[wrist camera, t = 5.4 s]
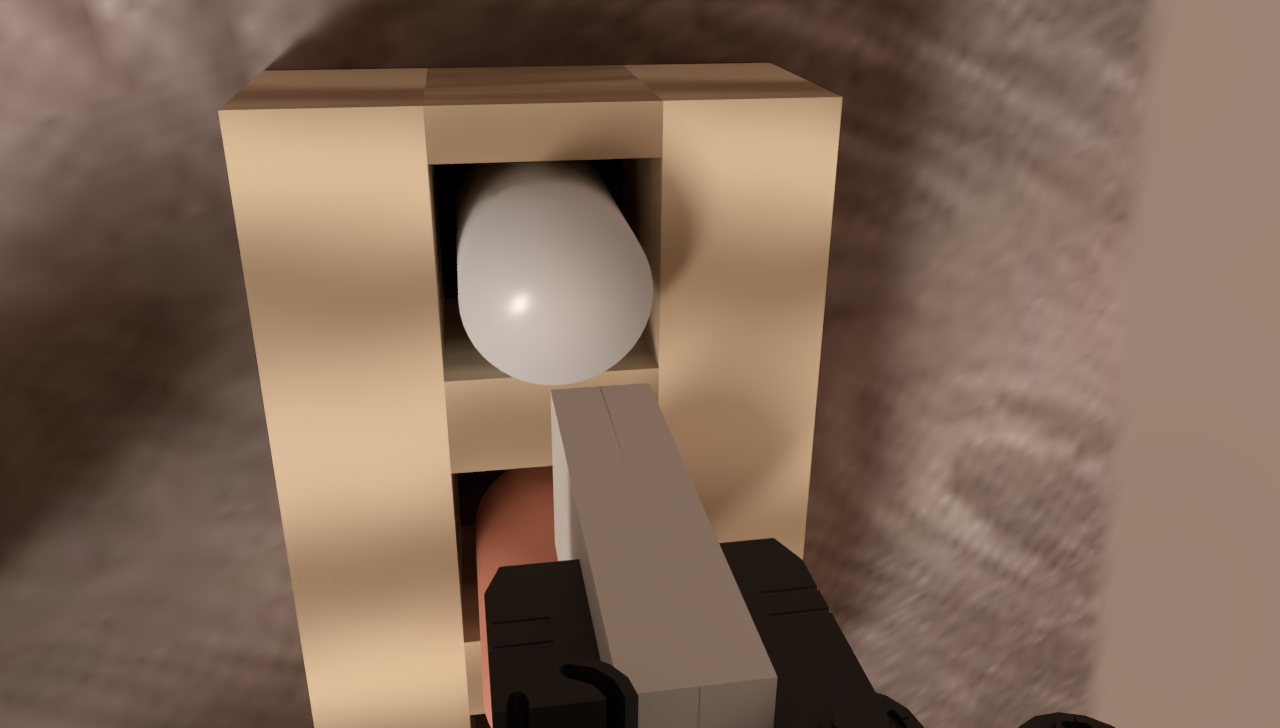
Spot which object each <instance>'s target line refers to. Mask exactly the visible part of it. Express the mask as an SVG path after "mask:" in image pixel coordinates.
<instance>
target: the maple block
mask: <svg viewBox="0 0 1280 728" xmlns="http://www.w3.org/2000/svg"><path fill="white" fill-rule="evenodd" d="M841 109H842V96H839V95H837V94H835V93H833V92H831V91H829V90H827V89H825V88H822V87H820V86H818V85H816V84H814V83H812V82H810V81H808V80H805V79H803V78H801V77H799V76H797V75H795V74H793V73H791V72H788V71H786V70H784V69H782V68H780V67H778V66H776V65H774V64H771V63H725V64H661V65H597V66H533V67H469V68H406V69H342V70H278V71H262V72H261V73H260V74H259V75H258V76H257V77H255V78H254V79H253V80H252V81H251V82H250V83H249V84H247V85H246V86H245V87H244V88H243V89H242V90H241V91H239V92H238V93H237V94H236V95H235V96H234V97H233V98H232V99H230V100H229V101H228V102H227V103H226V104H225V105H224V106H222V107H221V108H220V109H219V110H218V113H219V119H220V126H221V132H222V139H223V145H224V152H225V158H226V164H227V171H228V177H229V184H230V190H231V196H232V203H233V209H234V216H235V222H236V229H237V235H238V241H239V248H240V254H241V261H242V267H243V273H244V280H245V286H246V293H247V299H248V305H249V312H250V318H251V325H252V331H253V338H254V344H255V350H256V357H257V363H258V370H259V376H260V382H261V389H262V395H263V402H264V408H265V415H266V421H267V427H268V434H269V440H270V447H271V453H272V459H273V466H274V472H275V479H276V485H277V492H278V498H279V504H280V511H281V517H282V524H283V530H284V536H285V543H286V549H287V556H288V562H289V568H290V575H291V581H292V588H293V594H294V601H295V607H296V613H297V620H298V626H299V633H300V639H301V645H302V652H303V658H304V665H305V671H306V678H307V684H308V690H309V697H310V703H311V710H312V716H313V722H314V728H491V726H490V724H489V723H488V720H487V717H486V714H485V709H484V703H483V683H482V662H481V641H480V620H479V599H478V578H477V557H476V536H475V525H468V526H461V519H460V505H459V491H458V478H457V473H466V472H478V471H491V470H504V469H517V468H530V467H543V466H553V461H552V428H551V394H550V390H554V389H569V388H583V387H598V386H613V385H627V384H642V383H649V384H650V386H651V389H652V391H653V393H654V395H655V398H656V400H657V402H658V405H659V407H660V409H661V411H662V414H663V416H664V418H665V421H666V423H667V425H668V427H669V430H670V432H671V434H672V437H673V439H674V441H675V443H676V446H677V448H678V450H679V453H680V455H681V457H682V460H683V462H684V464H685V466H686V469H687V471H688V473H689V476H690V478H691V480H692V482H693V485H694V487H695V489H696V492H697V494H698V496H699V498H700V501H701V503H702V505H703V508H704V510H705V512H706V514H707V517H708V519H709V521H710V524H711V526H712V528H713V530H714V533H715V535H716V537H717V540H718V542H719V543H724V542H735V541H745V540H756V539H766V538H775V539H776V540H777V541H779V542H780V543H781V544H783V545H784V546H785V547H787V548H788V549H789V550H790V551H792V552H793V553H794V554H796V555H797V556H798V557H800V558H801V559H802V560H803V552H804V541H805V529H806V517H807V506H808V494H809V482H810V471H811V459H812V447H813V436H814V424H815V412H816V401H817V389H818V377H819V366H820V354H821V342H822V331H823V319H824V307H825V296H826V284H827V272H828V261H829V249H830V237H831V226H832V214H833V202H834V191H835V179H836V167H837V156H838V144H839V132H840V121H841ZM593 159H623V209H622V214H623V216H624V218H625V220H626V221H627V223H628V225H629V226H630V228H631V230H632V232H633V233H634V235H635V237H636V239H637V240H638V242H639V244H640V245H641V247H642V249H643V251H644V253H645V255H646V257H647V260H648V263H649V266H650V270H651V275H652V280H653V300H652V307H651V311H650V316H649V318H648V321H647V324H646V326H645V328H644V330H643V332H642V334H641V336H640V338H639V339H638V341H637V342H636V344H635V345H634V346H633V348H632V349H631V350H630V351H629V352H628V353H627V354H626V355H625V356H624V357H623V358H622V359H621V360H620V361H619V362H618V363H616V364H615V365H614V366H612V367H611V368H609V369H608V370H606V371H604V372H602V373H601V374H599V375H597V376H595V377H592V378H589V379H587V380H584V381H580V382H576V383H572V384H564V385H542V384H534V383H530V382H526V381H522V380H519V379H517V378H514V377H512V376H510V375H508V374H506V373H504V372H502V371H500V370H499V369H498V368H496V367H495V366H493V365H492V364H491V363H490V362H488V361H487V360H486V359H485V358H484V357H483V356H482V355H481V354H480V352H479V351H478V350H477V349H476V348H475V346H474V345H473V343H472V342H471V340H470V338H469V337H468V335H467V332H466V330H465V328H464V326H463V322H462V319H461V315H460V310H459V303H458V298H450V299H444V288H443V274H442V260H441V247H440V233H439V220H438V206H437V192H436V179H435V165H434V164H461V163H494V162H527V161H560V160H593Z"/></svg>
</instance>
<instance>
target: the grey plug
mask: <svg viewBox="0 0 1280 728" xmlns="http://www.w3.org/2000/svg"><path fill="white" fill-rule="evenodd" d="M456 244H457V275H458V303H459V310H460V315H461V319H462V322H463V326H464V328H465V330H466V332H467V335H468V337H469V338H470V340H471V342H472V343H473V345H474V346H475V348H476V349H477V350H478V351H479V352H480V354H481V355H482V356H483V357H484V358H485V359H486V360H487V361H488V362H490V363H491V364H492V365H493V366H495V367H496V368H498V369H499V370H500V371H502V372H504V373H506V374H508V375H510V376H512V377H514V378H517V379H519V380H522V381H526V382H530V383H534V384H542V385H564V384H572V383H576V382H580V381H584V380H587V379H589V378H592V377H595V376H597V375H599V374H601V373H602V372H604V371H606V370H608V369H609V368H611V367H612V366H614V365H615V364H616V363H618V362H619V361H620V360H621V359H622V358H623V357H624V356H625V355H626V354H627V353H628V352H629V351H630V350H631V349H632V348H633V346H634V345H635V344H636V342H637V341H638V339H639V338H640V336H641V334H642V332H643V330H644V328H645V326H646V324H647V321H648V318H649V316H650V311H651V307H652V300H653V280H652V275H651V270H650V266H649V263H648V260H647V257H646V255H645V253H644V251H643V249H642V247H641V245H640V244H639V242H638V240H637V239H636V237H635V235H634V233H633V232H632V230H631V228H630V226H629V225H628V223H627V221H626V220H625V218H624V216H623V214H622V213H621V211H620V209H619V208H618V206H617V204H616V202H615V201H614V199H613V197H612V195H611V194H610V192H609V190H608V189H607V187H606V185H605V183H604V182H603V180H602V178H601V177H600V175H599V173H598V172H597V170H596V169H595V167H594V166H593V165H592V164H591V163H590V161H589V160H560V161H527V162H494V163H474V164H473V165H472V166H471V168H470V169H469V170H468V172H467V174H466V175H465V177H464V179H463V181H462V183H461V186H460V188H459V192H458V195H457V201H456Z"/></svg>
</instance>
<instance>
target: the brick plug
mask: <svg viewBox="0 0 1280 728" xmlns="http://www.w3.org/2000/svg"><path fill="white" fill-rule="evenodd" d="M475 536H476V557H477V578H478V599H479V620H480V641H481V662H482V683H483V703H484V709H485V714H486V717H487V720H488V723H489V724H490V726H491V728H493V724H492V708H491V693H490V678H489V662H488V647H487V631H486V616H485V601H484V593H485V591H486V590H487V588H488V586H489V584H490V582H491V581H492V579H493V577H494V575H495V574H496V572H497V570H498V568H499V567H502V566H513V565H523V564H534V563H544V562H555V561H558V558H557V552H556V547H555V529H554V495H553V466H543V467H530V468H517V469H508V470H507V471H505V472H504V473H503V474H501V475H500V476H499V477H498V478H497V479H496V480H495V481H494V482H493V483H492V484H491V485H490V486H489V488H488V489H487V491H486V492H485V494H484V495H483V497H482V499H481V501H480V503H479V506H478V510H477V513H476V519H475Z"/></svg>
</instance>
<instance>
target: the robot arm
mask: <svg viewBox="0 0 1280 728" xmlns="http://www.w3.org/2000/svg"><path fill="white" fill-rule="evenodd" d="M550 394H551V428H552V461H553V495H554V529H555V547H556V552H557V558H558V561H555V562H544V563H534V564H523V565H513V566H502V567H499V568H498V570H497V572H496V574H495V575H494V577H493V579H492V581H491V582H490V584H489V586H488V588H487V590H486V591H485V593H484V601H485V616H486V631H487V647H488V662H489V678H490V693H491V708H492V724H493V728H924V727H923V726H922V724H921V723H920V722H919V721H918V720H917V719H916V718H915V716H914V715H913V714H912V713H911V712H910V711H909V710H908V709H907V708H906V707H904V706H902V705H901V704H899V703H897V702H896V701H894V700H893V699H891V698H889V697H888V696H886V695H882V694H879V693H876V692H875V691H874V689H873V687H872V685H871V683H870V682H869V680H868V678H867V676H866V674H865V673H864V671H863V669H862V667H861V665H860V664H859V662H858V660H857V658H856V656H855V654H854V653H853V651H852V649H851V647H850V645H849V644H848V642H847V640H846V638H845V636H844V635H843V633H842V631H841V629H840V627H839V625H838V624H837V622H836V620H835V618H834V616H833V615H832V613H829V607H828V606H827V604H826V602H825V600H824V598H823V596H822V595H821V593H820V591H817V586H816V584H815V582H814V580H813V578H812V577H811V575H810V573H809V571H808V569H807V567H806V566H805V564H804V562H803V560H802V559H801V558H800V557H798V556H797V555H796V554H794V553H793V552H792V551H790V550H789V549H788V548H787V547H785V546H784V545H783V544H781V543H780V542H779V541H777V540H776V539H775V538H766V539H756V540H745V541H735V542H724V543H719V542H718V540H717V537H716V535H715V533H714V530H713V528H712V526H711V524H710V521H709V519H708V517H707V514H706V512H705V510H704V508H703V505H702V503H701V501H700V498H699V496H698V494H697V492H696V489H695V487H694V485H693V482H692V480H691V478H690V476H689V473H688V471H687V469H686V466H685V464H684V462H683V460H682V457H681V455H680V453H679V450H678V448H677V446H676V443H675V441H674V439H673V437H672V434H671V432H670V430H669V427H668V425H667V423H666V421H665V418H664V416H663V414H662V411H661V409H660V407H659V405H658V402H657V400H656V398H655V395H654V393H653V391H652V389H651V386H650V384H649V383H642V384H627V385H613V386H598V387H583V388H569V389H554V390H550ZM1019 728H1115V727H1113V726H1111V725H1108V724H1106V723H1103V722H1100V721H1098V720H1095V719H1093V718H1090V717H1087V716H1083V715H1075V714H1067V713H1060V712H1057V713H1051V714H1045V715H1039V716H1035V717H1033V718H1031V719H1030V720H1028V721H1027V722H1025V723H1024V724H1022V725H1021V726H1019Z"/></svg>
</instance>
